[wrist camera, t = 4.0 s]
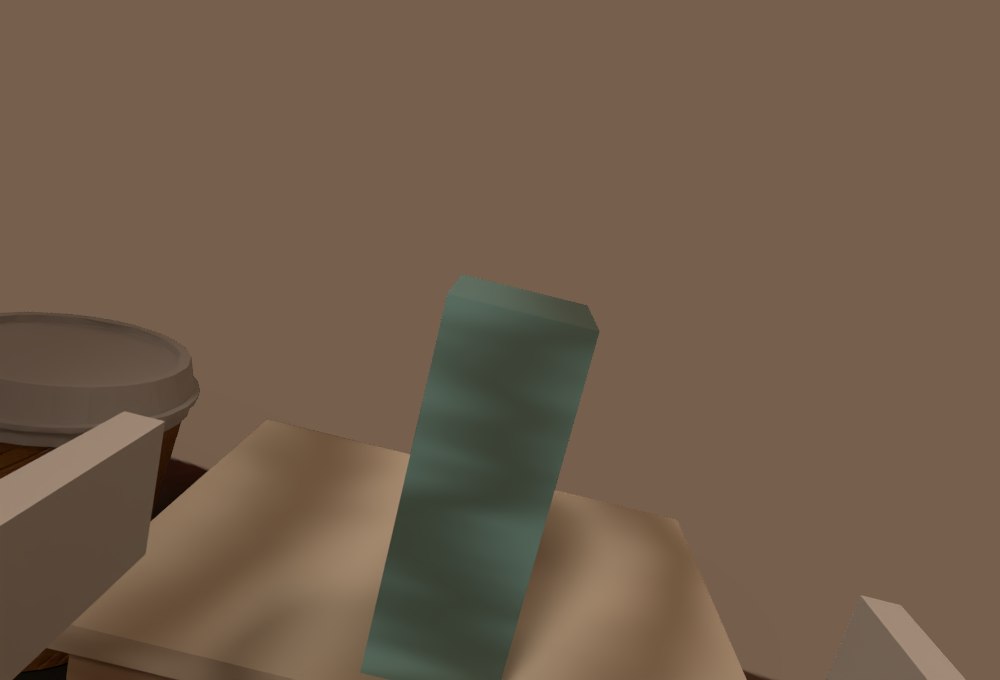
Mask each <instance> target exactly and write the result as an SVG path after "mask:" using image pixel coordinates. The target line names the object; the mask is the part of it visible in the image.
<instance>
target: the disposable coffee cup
mask: <svg viewBox="0 0 1000 680" xmlns="http://www.w3.org/2000/svg"><path fill="white" fill-rule="evenodd" d="M199 392H200V389H199V385H198V381H197V380H196V379H195V378H194V376H193V369H192V358H191V356H190V354H189V353H188V351H187V349H186V348H185V347H184V346H183V345H181V344H180V343H178V342H177V341H175V340H174V339H172V338H169V337H167V336H165V335H163V334H161V333H157V332H155V331H151V330H148V329H145V328H142V327H139V326H136V325H132V324H128V323H123V322H118V321H114V320H108V319H102V318H96V317H90V316H81V315H73V314H60V313H59V314H58V313H39V312H15V313H14V312H13V313H0V479H1V478H3V477H5V476H7V475H9V474H10V473H12V472H14V471H16V470H18V469H20V468H21V467H23V466H25V465H27V464H29V463H31V462H32V461H34V460H36V459H38V458H40V457H42V456H43V455H45V454H47V453H49V452H51V451H53V450H54V449H56V448H58V447H60V446H62V445H64V444H65V443H67V442H69V441H71V440H73V439H75V438H76V437H78V436H80V435H82V434H84V433H86V432H87V431H89V430H91V429H93V428H95V427H97V426H98V425H100V424H102V423H104V422H106V421H107V420H109V419H111V418H113V417H115V416H117V415H118V414H120V413H122V412H124V411H125V412H129V413H133V414H137V415H141V416H145V417H149V418H153V419H157V420H161V421H165V426H164V433H163V439H162V446H161V453H160V460H159V467H158V473H157V480H156V487H155V494H154V501H153V507H152V514H151V520H152V517H153V514H154V510H155V507H156V504H157V500H158V497H159V493H160V491H161V487H162V484H163V480H164V477H165V475H166V471H167V467H168V464H169V461H170V458H171V454H172V450H173V447H174V443H175V440H176V437H177V434H178V431H179V427H180V423H181V421H182V420H183V419H184V418H185V417H186V416H187V414H188V411H189V408H191V407H192V406H193V405H194V404H195V402H196V400H197V399H198V396H199ZM150 522H151V521H150ZM68 660H69V653H66V652H62V651H57V650H53V649H49V648H46V649H45V650H43V651H42V652H41V653H40V654H39V655H38V656H37V657H36V658H35V659H34V660H33V661H32V662H31V663H30V664H29V665H28V666H26V667H25V668H24V669H23V670H22V671H21V672H24V671H33V670H41V669H45V668H50V667H54V666H59V665H62V664H65V663H68Z"/></svg>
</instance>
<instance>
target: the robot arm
mask: <svg viewBox="0 0 1000 680" xmlns="http://www.w3.org/2000/svg"><path fill="white" fill-rule="evenodd" d="M164 426H165V421H161V420H157V419H153V418H149V417H145V416H141V415H137V414H133V413H129V412H125V411H124V412H122V413H120V414H118V415H117V416H115V417H113V418H111V419H109V420H107V421H106V422H104V423H102V424H100V425H98V426H97V427H95V428H93V429H91V430H89V431H87V432H86V433H84V434H82V435H80V436H78V437H76V438H75V439H73V440H71V441H69V442H67V443H65V444H64V445H62V446H60V447H58V448H56V449H54V450H53V451H51V452H49V453H47V454H45V455H43V456H42V457H40V458H38V459H36V460H34V461H32V462H31V463H29V464H27V465H25V466H23V467H21V468H20V469H18V470H16V471H14V472H12V473H10V474H9V475H7V476H5V477H3V478H1V479H0V680H13V679H14V678H15V677H16V676H17V675H18V674H19V673H20V672H21V671H22V670H23V669H24V668H25V667H26V666H28V665H29V664H30V663H31V662H32V661H33V660H34V659H35V658H36V657H37V656H38V655H39V654H40V653H41V652H42V651H43V650H45V649H46V648H47V647H48V646H49V645H50V644H51V643H52V642H53V641H54V640H55V639H56V638H57V637H58V636H59V635H60V634H62V633H63V632H64V631H65V630H66V629H67V628H68V627H69V626H70V625H71V624H72V623H73V622H74V621H75V620H76V619H77V618H78V617H80V616H81V615H82V614H83V613H84V612H85V611H86V610H87V609H88V608H89V607H90V606H91V605H92V604H93V603H94V602H95V601H97V600H98V599H99V598H100V597H101V596H102V595H103V594H104V593H105V592H106V591H107V590H108V589H109V588H110V587H111V586H112V585H114V584H115V583H116V582H117V581H118V580H119V579H120V578H121V577H122V576H123V575H124V574H125V573H126V572H127V571H128V570H129V569H131V568H132V567H133V566H134V565H135V564H136V563H137V562H138V561H139V560H140V559H141V558H142V557H143V556H144V555H145V554H146V548H147V541H148V535H149V528H150V521H151V514H152V507H153V501H154V494H155V487H156V480H157V473H158V467H159V460H160V453H161V446H162V439H163V433H164ZM827 680H965V679H964V677H963V676H962V675H961V674H960V673H959V672H958V670H957V669H956V668H955V667H954V666H953V665H952V664H951V662H950V661H949V660H948V659H947V658H946V657H945V656H944V654H943V653H942V652H941V651H940V650H939V649H938V648H937V647H936V645H935V644H934V643H933V642H932V641H931V640H930V638H929V637H928V636H927V635H926V634H925V633H924V631H923V630H922V629H921V628H920V627H919V626H918V625H917V624H916V622H915V621H914V620H913V619H912V618H911V617H910V615H909V614H908V613H907V612H906V611H905V610H904V609H903V607H902V606H900V605H897V604H894V603H890V602H886V601H882V600H878V599H873V598H870V597H866V596H862V595H860V597H859V599H858V602H857V604H856V607H855V609H854V612H853V614H852V617H851V619H850V622H849V625H848V627H847V629H846V632H845V635H844V637H843V640H842V642H841V644H840V647H839V650H838V652H837V655H836V657H835V659H834V662H833V664H832V667H831V669H830V672H829V674H828V677H827Z"/></svg>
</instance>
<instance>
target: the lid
mask: <svg viewBox="0 0 1000 680" xmlns="http://www.w3.org/2000/svg"><path fill="white" fill-rule="evenodd" d="M598 335H599V329H598V327H597V325H596V323H595V321H594V319H593V316H592V315H591V312H590V310H589V308H588V306H587V305H583V304H579V303H575V302H571V301H567V300H563V299H558V298H555V297H551V296H547V295H543V294H539V293H535V292H531V291H527V290H523V289H519V288H515V287H510V286H507V285H503V284H498V283H495V282H490V281H486V280H483V279H479V278H475V277H471V276H466V275H462V276H461V277H460V278H459V279H458V281H457V282H456V283H455V284H454V286H453V287H452V288H451V290H450V291H449V292H448V293H447V298H446V302H445V307H444V310H443V315H442V319H441V323H440V328H439V332H438V337H437V341H436V345H435V350H434V354H433V358H432V363H431V367H430V372H429V376H428V380H427V384H426V389H425V393H424V398H423V402H422V406H421V410H420V415H419V419H418V423H417V428H416V432H415V437H414V441H413V445H412V449H411V454H407V453H403V452H399V451H395V450H390V449H387V448H382V447H379V446H374V445H371V444H366V443H362V442H358V441H354V440H350V439H346V438H342V437H338V436H334V435H330V434H326V433H321V432H318V431H314V430H309V429H306V428H301V427H297V426H293V425H289V424H285V423H281V422H277V421H273V420H269V419H266V420H265V421H264V422H263V423H262V424H261V425H260V426H259V427H257V428H256V429H255V430H254V431H253V432H252V433H251V434H249V435H248V436H247V437H246V438H245V439H244V440H243V441H241V442H240V443H239V444H238V445H237V446H236V447H235V448H234V449H233V450H231V451H230V452H229V453H228V454H227V455H226V456H224V457H223V458H222V459H221V460H220V461H219V462H218V463H217V464H215V465H214V466H213V467H212V468H211V469H210V470H209V471H207V472H206V473H205V474H204V475H203V476H202V477H201V478H200V479H198V480H197V481H196V482H195V483H194V484H193V485H192V486H190V487H189V488H188V489H187V490H186V491H185V492H184V493H182V494H181V495H180V496H179V497H178V498H177V499H176V500H175V501H173V502H172V503H171V504H170V505H169V506H168V507H167V508H165V509H164V510H163V511H162V512H161V513H160V514H159V515H158V516H156V517H155V518H154V519H153V520H152V521H151V522H150V528H149V535H148V541H147V548H146V554H145V555H144V556H143V557H142V558H141V559H140V560H139V561H138V562H137V563H136V564H135V565H134V566H133V567H132V568H131V569H129V570H128V571H127V572H126V573H125V574H124V575H123V576H122V577H121V578H120V579H119V580H118V581H117V582H116V583H115V584H114V585H112V586H111V587H110V588H109V589H108V590H107V591H106V592H105V593H104V594H103V595H102V596H101V597H100V598H99V599H98V600H97V601H95V602H94V603H93V604H92V605H91V606H90V607H89V608H88V609H87V610H86V611H85V612H84V613H83V614H82V615H81V616H80V617H78V618H77V619H76V620H75V621H74V622H73V623H72V624H71V625H70V626H69V627H68V628H67V629H66V630H65V631H64V632H63V633H62V634H60V635H59V636H58V637H57V638H56V639H55V640H54V641H53V642H52V643H51V644H50V645H49V646H48V647H47V648H49V649H53V650H57V651H62V652H66V653H70V654H74V655H78V656H82V657H86V658H90V659H94V660H99V661H103V662H107V663H111V664H115V665H119V666H123V667H127V668H132V669H136V670H140V671H144V672H148V673H152V674H156V675H160V676H165V677H169V678H173V679H177V680H746V677H745V675H744V673H743V670H742V668H741V666H740V664H739V661H738V659H737V657H736V654H735V652H734V650H733V647H732V645H731V643H730V641H729V638H728V636H727V634H726V631H725V629H724V627H723V625H722V622H721V620H720V618H719V616H718V613H717V611H716V608H715V607H714V604H713V602H712V600H711V597H710V595H709V593H708V590H707V588H706V586H705V583H704V581H703V579H702V577H701V574H700V572H699V570H698V567H697V565H696V563H695V561H694V558H693V556H692V554H691V551H690V549H689V547H688V544H687V542H686V540H685V537H684V535H683V533H682V531H681V528H680V526H679V524H678V521H677V520H675V519H671V518H667V517H662V516H658V515H654V514H650V513H646V512H642V511H638V510H634V509H630V508H626V507H622V506H618V505H614V504H610V503H605V502H602V501H598V500H593V499H589V498H585V497H581V496H577V495H573V494H569V493H565V492H561V491H557V490H555V487H556V484H557V480H558V476H559V473H560V469H561V466H562V462H563V459H564V455H565V452H566V448H567V445H568V441H569V438H570V434H571V431H572V427H573V424H574V419H575V416H576V413H577V409H578V406H579V402H580V399H581V395H582V392H583V388H584V384H585V381H586V377H587V374H588V370H589V367H590V363H591V360H592V356H593V353H594V349H595V345H596V342H597V338H598Z"/></svg>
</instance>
